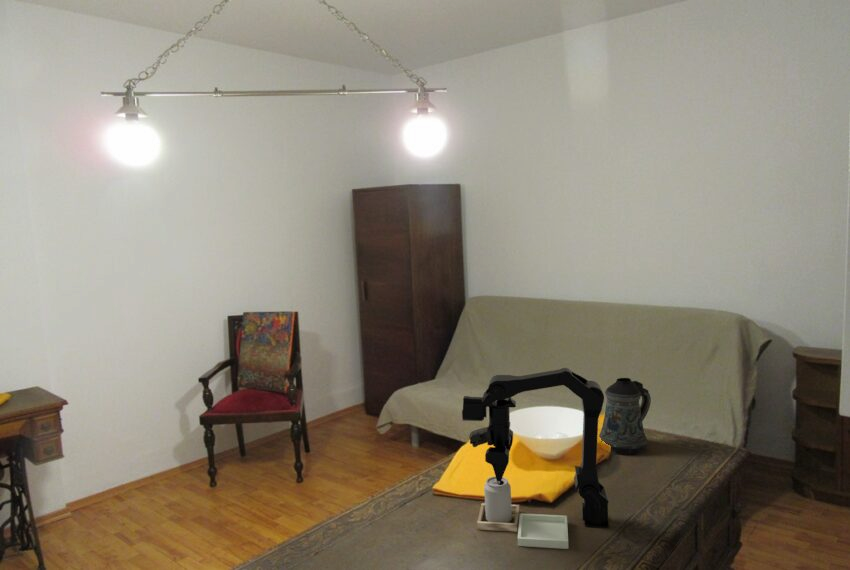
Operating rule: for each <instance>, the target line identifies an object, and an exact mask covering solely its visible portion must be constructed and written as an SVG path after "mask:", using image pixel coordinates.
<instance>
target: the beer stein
mask: <svg viewBox="0 0 850 570" xmlns="http://www.w3.org/2000/svg"><path fill="white" fill-rule="evenodd" d="M643 385H644V384H643V383H642V382H639V381H638V380H632V379H631V378H629V377H619V378H617V379H616V380H615V382H614V383H612V384H611V385H610V386H608V387H607V388H606V389H605V391H604V394H605V397H606V405H605V410H604V417H603V421H602V426H601V430H600V432H599V435H598V438H599V437H600V438H601V440H602V441H604V442H605V443H606V444H608V445H610V446H611V453H610V454H612V455H618V456H619V455H620V456H636V455H639V454H641V453H644V452H645V450H646V447H647V444H648V439H647V436H646V433H645V431H644V424H643V421H644V420H645V418H646V416H647V414H648V413H649V410H650V407H651V402H652V401H651V399H652V398H651V394H650V393H649V390H648V389H646V388H644V386H643ZM640 399H641V402H640Z"/></svg>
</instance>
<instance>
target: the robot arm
mask: <svg viewBox="0 0 850 570" xmlns="http://www.w3.org/2000/svg"><path fill="white" fill-rule="evenodd" d="M560 386H564V387H566V388H567V389H568V390H570V391H571V392H572V393H573V394H574V395H576V396H577V397H579V398H580V399H581V407H582V412H583V418H582V420H583V421H582V425H583V426H582V444H581V445H582V446H581V447H582V448H581V461H580V462H581V463H580V464H579V466H578V465H574V470H575V471H574V472H575V474H574V477H573V481H574V485H575V489H576V490H578V491H577V492H578V495H579V496H580V497H581V498H582V499H583V502H582V503H581V517H582V521H583V522H584V527H591V528H593V527H594V528H610V522H609V499H608V496H607V492H606V488H605V486H604V485H603V484H602V483H600V482H599V477H598V475H599V474H598V469H597V456H598V455H597V454H598V452H597V451H598V437H599V435H598V432H599V431H598V430H599V417H600V415H601V412H602V410H603V406H604V401H605V395H604V394H605V393H604V392H603V390H602V387H601V386H600V384H599V383H598V382H597V381H594V380H588V379H586V378H585V377H583V376H582V375H580V374H577V373H576V372H573V371H572V370H571V369H569V368H568V367H562V368H559V369H554V370H549V371H542V372H537V373H536V372H535V373H531V374H530V373H529V374H524V375H512V374H495V375H493V377H491V379H490V380H489V383H488V386H487V389H486V390H485V392H483V395H482V396H468V395H465V396H463V399H462V410H461V416H462V422H463V421H464V422H465V421H466V422H467V421H468V422H484V420H485V418H487V416H488V419H489V421H488V426H487V427H485V426H484V427H482V428H477V429H476V430H475V429H474V430H472V431H470V433H469V434H468V435H469V436H468V438H469V444H471V445H472V447H473V448H476V447H478V446H481V445H484V444H487V446H490V447H488V448H487V449H486V451H485V455H484V456H485V457H484V458H485V459H484V461H485V462H486V463H487V464H490V465H491V466H492V468H493V472H494V475H495V476H496V479H497V481H501V480H502V477H504V474H505V472H506V469H507V467H508V465H509V462H510V452H511V448H512V445H513V441H514V431H513V430H512V429H511V422H510V408H516V406H517V402H516V400H515V399H513V398H512V397H514V396H517V395H518V394H520V393H524V392H530V391H536V390H543V389H548V388H554V387H560ZM495 476H494V477H495Z"/></svg>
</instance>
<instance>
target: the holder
mask: <svg viewBox="0 0 850 570" xmlns="http://www.w3.org/2000/svg"><path fill="white" fill-rule="evenodd" d="M511 507H512V513H515V516H514V522H509V523H502V522H488V521H483V518H484V515H485V502H483V503H481V505H480V509H479V513H478V517H477V521H476V528H477V529H476V530H480V531H481V530H482V531H496V532H497V531H501V532H515V533H518V528H519V517H520V504H511Z"/></svg>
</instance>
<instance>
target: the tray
mask: <svg viewBox="0 0 850 570" xmlns="http://www.w3.org/2000/svg"><path fill="white" fill-rule="evenodd" d="M568 531H569V530H568V515H559V514H558V515H557V514H540V513H538V514H537V513H520V512H519V521H518V531H517V547H529V548H531V547H532V548H545V549H548V548H549V549H563V550H564V549H565V550H569V532H568Z"/></svg>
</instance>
